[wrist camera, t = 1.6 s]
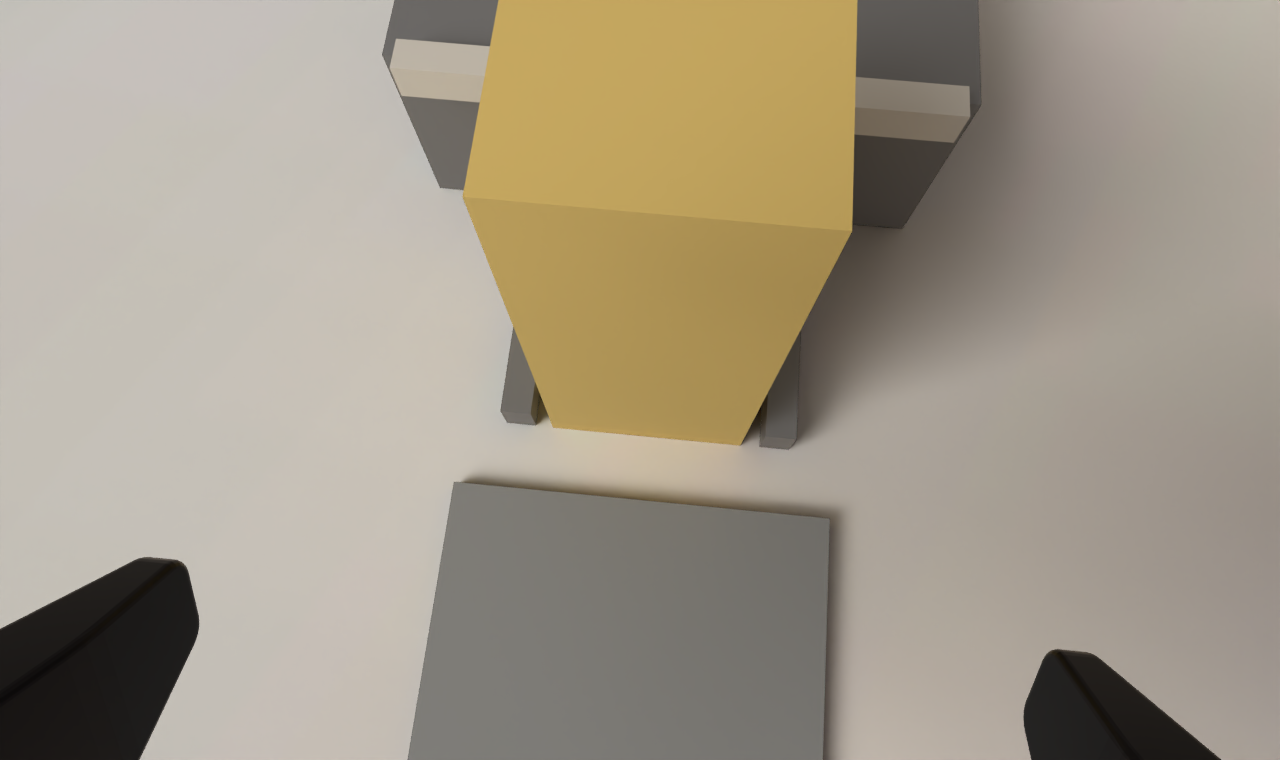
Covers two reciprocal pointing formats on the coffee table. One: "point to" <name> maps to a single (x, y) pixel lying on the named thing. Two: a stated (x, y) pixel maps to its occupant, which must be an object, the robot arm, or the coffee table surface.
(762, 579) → the mat
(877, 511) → the coffee table surface
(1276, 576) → the coffee table surface
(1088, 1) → the coffee table surface
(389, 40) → the grey boxy piece
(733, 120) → the mustard yellow box
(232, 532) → the coffee table surface
